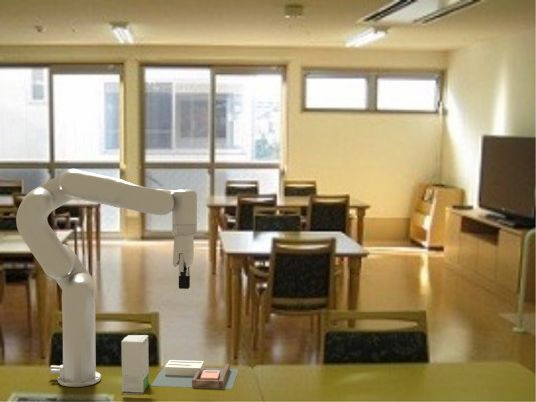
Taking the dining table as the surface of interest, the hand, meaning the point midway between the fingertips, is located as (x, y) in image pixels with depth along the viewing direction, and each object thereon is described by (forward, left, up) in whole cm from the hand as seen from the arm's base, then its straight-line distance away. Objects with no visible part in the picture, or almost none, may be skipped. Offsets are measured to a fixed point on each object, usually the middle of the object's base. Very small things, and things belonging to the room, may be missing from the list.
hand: (184, 288), depth 216 cm
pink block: (+10, -10, -26) cm, 30 cm away
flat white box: (0, -1, -26) cm, 26 cm away
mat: (+5, -6, -27) cm, 28 cm away
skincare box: (-11, -16, -27) cm, 34 cm away
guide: (+10, -6, -26) cm, 29 cm away
